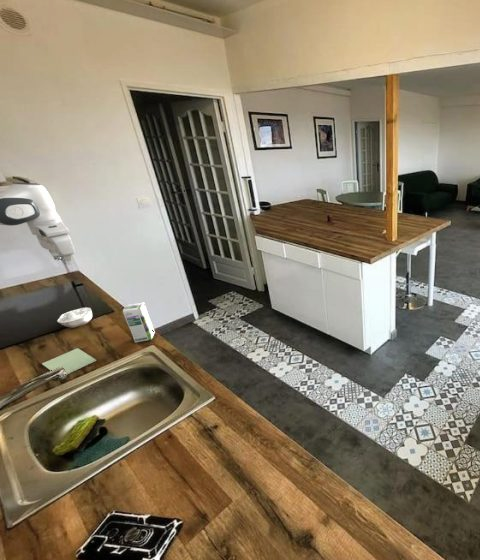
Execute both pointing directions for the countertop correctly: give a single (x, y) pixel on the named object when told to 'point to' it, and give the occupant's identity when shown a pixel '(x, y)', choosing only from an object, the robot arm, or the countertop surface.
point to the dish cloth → (70, 361)
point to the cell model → (75, 317)
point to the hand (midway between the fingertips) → (63, 262)
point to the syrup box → (139, 322)
